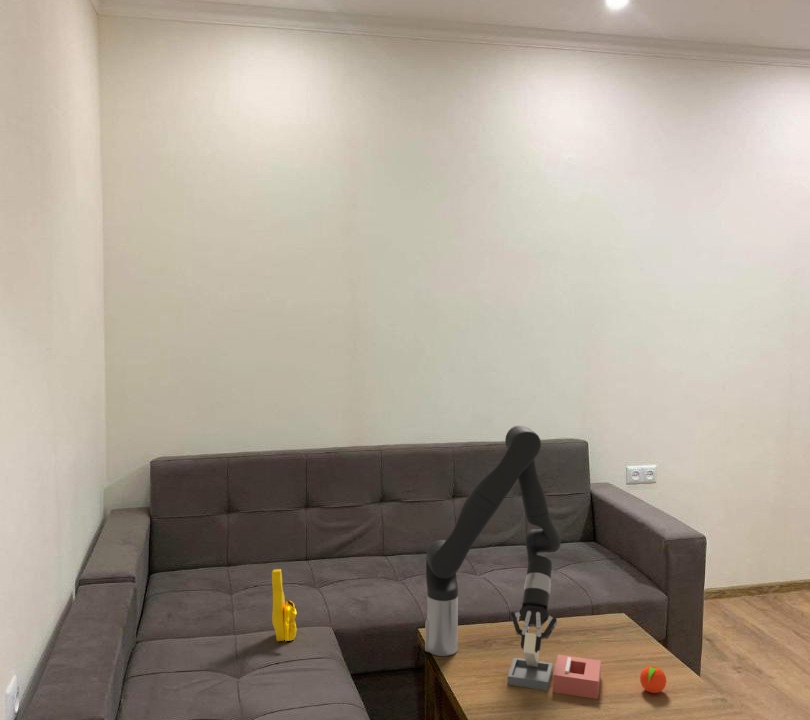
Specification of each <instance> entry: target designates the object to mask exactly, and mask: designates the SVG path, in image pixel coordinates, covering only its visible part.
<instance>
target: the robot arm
mask: <svg viewBox="0 0 810 720" xmlns="http://www.w3.org/2000/svg"><path fill="white" fill-rule="evenodd" d="M504 440H505V445H506V448H507V450H506V452H505V453H504V456H503V457H502V459H501V460H500V461H499V463H498V464H497V466H496V467H494V468H493V469H492V470H491V471H490V472H489V473H487V474H486V475H484V477H483V478H482V479H480V480H479V482H477V484H476V485H475V486H474V488H473V489H472V490H471V492H470V493H469V495H468V496H467V497H466V499H465V501H464V503H463V506H462V507H461V510H460V511H459V515H458V519H457V521H456V523H455V526H454V528H453V530H452V532H451V533H450V534H449V536H448V537H447V538H446V539H445V540H444V539H438V540H435V541H434V542H432V543H431V544H429V547H428V548H427V551H426V556H425V558H426V559H425V573H426V574H425V580H426V581H425V582H426V589H427V590H426V591H427V592H426V594H427V599H426V600H427V602H426V604H427V607H426V610H427V614H426V616H427V617H426V619H425V621H424V622H425V624H424V626H425V628H424V632H425V633H424V641H425V642H424V651H425V652H427V653H430V654H432V656H433V655H434V656H438V657H448V656H452V655H454V654H456V653H457V651H458V642H459V641H458V635H459V634H458V632H459V631H458V629H459V628H458V627H459V625H458V624H459V623H458V622H459V621H458V617H459V615H458V614H459V611H458V610H459V607H458V606H459V586H458V580H457V572H458V571H459V570H460V568H461V566H462V565H463V562H464V561H465V559H466V557H467V555H468V553H469V551H470V550H471V548H472V546H473V545H474V543H475V541H476V540H477V539H478V537H479V536H480V534H481V533H482V532H483V530H485V528H486V526H487V525H488V523H489V522H490V521H491V519H492V518H493V517H494V515H495V513H496V512H497V511H498V509H499V508H500V507H501V505H502V504H503V502H504V500H505V498H506V497H507V496H508V494H509V493H510V492H511V489H513V486H515V483H516V481H518V484H519V485H518V486H519V490H520V494H521V500H522V504H523V505H522V506H523V509H524V514H525V515H524V516H525V519H526V521H527V523H528V524H530V525H532V526H537V527H539V528H534V529H530V530H529V531H527V533H526V534H525V536H524V542H525V547H526V552H527V553H526V554H527V569H526V570H527V571H526V578H525V581H524V586H523V587H524V588H523V594H522V601H521V602H522V603H521V607H520V609H519V611H517V612H515V611H514V612H513V611H512V612H511V613H510V617H511V620H512V623H513V626H514V629H515V633H516V635H518V636H521V638H520V639H521V640H520V647H521V649H522V651H523V650H524V641H525V632H526V633H529V631H530V628H532V627H534V628H536V635H537V637H536V647H535V652H536V653H538V651H539V652H540V650H541V647H542V640H544V639H545V640H547V639H549V638H550V636H551V634H552V633H553V631H554V629H555V628H556V626H557V625H558V620H557V617H553V616H551V615H550V613H549V608H550V607H549V605H550V597H551V596H550V595H551V588H552V587H551V578H552V568H553V565H552V561H551V560H550V559H549V558H548V557H545V556H542V555H539V553H542V554H543V553H548V554H549V553H556V552H558V551H559V550H560V548H561V535H560V533H559V532H558V529H557V528H556V526H555V523H554V522H553V520H552V517H551V515H550V512H549V508H548V507H549V506H548V502H547V498H546V493H545V491H544V488H543V486H542V483H541V479H540V477H539V474H538V471H537V470H538V469H537V467H536V464H535V458H536V457H537V456H538V454H539V453H540V450H541V447H542V446H541V445H542V441H541V438H540V436H539V435H538V434H537V433H536V432H535V431H534V430H532V429H531V428H529V427H527V426H524V425H514V426H512V427H511V428H510V429H508V432H506V435H505V439H504ZM520 618H521V619H522V620H523V621H522V622H524V623H523V627H522V629H521V628H520V625H519V622H518V621H519V620H520ZM546 622H547V623H548V625H547V627H546V628H545V630H544V631H542V629H543V628H542V627H543V626H544V624H545V623H546Z"/></svg>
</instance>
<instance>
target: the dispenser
mask: <svg viewBox="0 0 810 720" xmlns="http://www.w3.org/2000/svg"><path fill="white" fill-rule="evenodd" d="M601 663H602V660H599V659H593V658H591V659H590V658H584V657H578V656H570V655H562V654H557V658H556V663H555V666H554V669H553V670H554V671H553V674H552V675H553V677H552V678H553V680H552V693H558V694H561V695H562V694H564V695H570V696H576V697H583V698H590V699H596V700H598V699H599V693H600V685H601V676H602V675H601V671H602V670H601V669H602V665H601Z"/></svg>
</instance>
